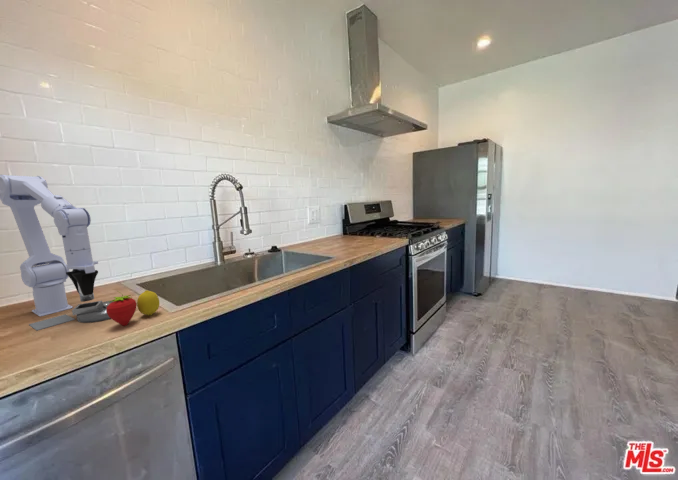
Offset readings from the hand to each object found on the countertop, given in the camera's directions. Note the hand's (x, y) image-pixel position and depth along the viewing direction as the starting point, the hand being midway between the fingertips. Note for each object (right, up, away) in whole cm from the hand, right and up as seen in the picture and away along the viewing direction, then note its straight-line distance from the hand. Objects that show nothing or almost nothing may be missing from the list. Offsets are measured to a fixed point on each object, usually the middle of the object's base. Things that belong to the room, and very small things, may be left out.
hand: (85, 293), depth 86 cm
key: (0, -2, 0) cm, 2 cm away
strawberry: (+17, -8, -7) cm, 20 cm away
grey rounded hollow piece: (+4, -7, +3) cm, 8 cm away
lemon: (+20, -7, 0) cm, 21 cm away
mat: (-8, -8, -2) cm, 11 cm away
